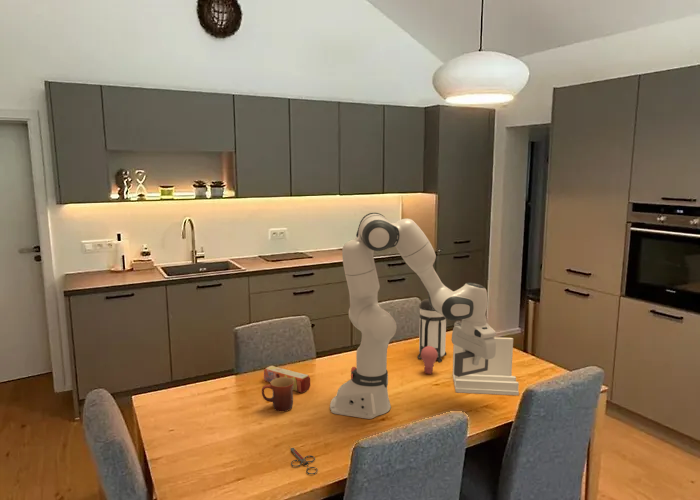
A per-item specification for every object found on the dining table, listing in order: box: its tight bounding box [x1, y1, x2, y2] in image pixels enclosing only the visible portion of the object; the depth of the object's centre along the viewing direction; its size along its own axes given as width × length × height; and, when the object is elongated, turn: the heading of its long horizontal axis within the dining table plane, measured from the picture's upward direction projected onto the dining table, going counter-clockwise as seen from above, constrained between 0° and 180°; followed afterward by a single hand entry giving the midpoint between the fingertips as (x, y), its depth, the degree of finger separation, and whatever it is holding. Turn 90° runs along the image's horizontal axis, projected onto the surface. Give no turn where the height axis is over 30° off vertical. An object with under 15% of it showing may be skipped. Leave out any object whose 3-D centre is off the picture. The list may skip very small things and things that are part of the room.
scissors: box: [288, 445, 319, 475], centre depth 156 cm, size 8×18×2 cm, turn 32°
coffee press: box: [417, 298, 447, 363], centre depth 235 cm, size 17×16×30 cm
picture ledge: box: [452, 336, 520, 396], centre depth 207 cm, size 24×17×18 cm
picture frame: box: [454, 351, 488, 377], centre depth 190 cm, size 14×3×8 cm, turn 118°
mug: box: [261, 377, 294, 412], centre depth 188 cm, size 12×9×10 cm
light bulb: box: [420, 346, 438, 374], centre depth 220 cm, size 7×7×12 cm
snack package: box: [263, 365, 311, 394], centre depth 209 cm, size 21×7×7 cm, turn 54°
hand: (471, 362), depth 190 cm, fingers closed on picture frame, 3 cm apart
